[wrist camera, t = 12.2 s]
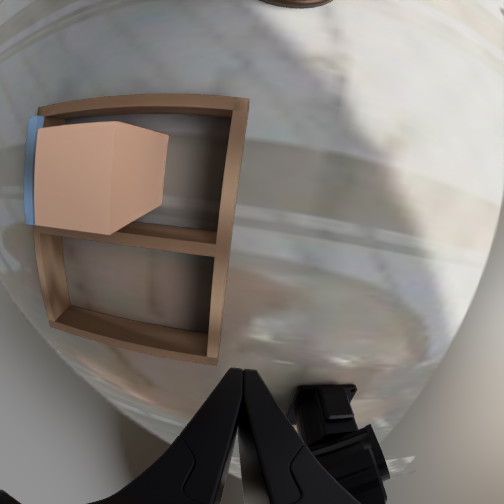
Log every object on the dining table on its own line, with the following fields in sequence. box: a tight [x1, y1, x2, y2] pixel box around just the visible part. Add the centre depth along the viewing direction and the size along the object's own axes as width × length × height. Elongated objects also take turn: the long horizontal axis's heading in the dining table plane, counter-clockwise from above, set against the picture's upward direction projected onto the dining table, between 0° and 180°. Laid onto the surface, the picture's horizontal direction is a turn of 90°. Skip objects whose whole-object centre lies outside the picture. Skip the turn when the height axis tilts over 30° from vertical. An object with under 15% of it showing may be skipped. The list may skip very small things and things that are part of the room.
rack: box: [24, 94, 249, 366], centre depth 17 cm, size 18×16×4 cm
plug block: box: [34, 121, 169, 235], centre depth 14 cm, size 5×5×8 cm
